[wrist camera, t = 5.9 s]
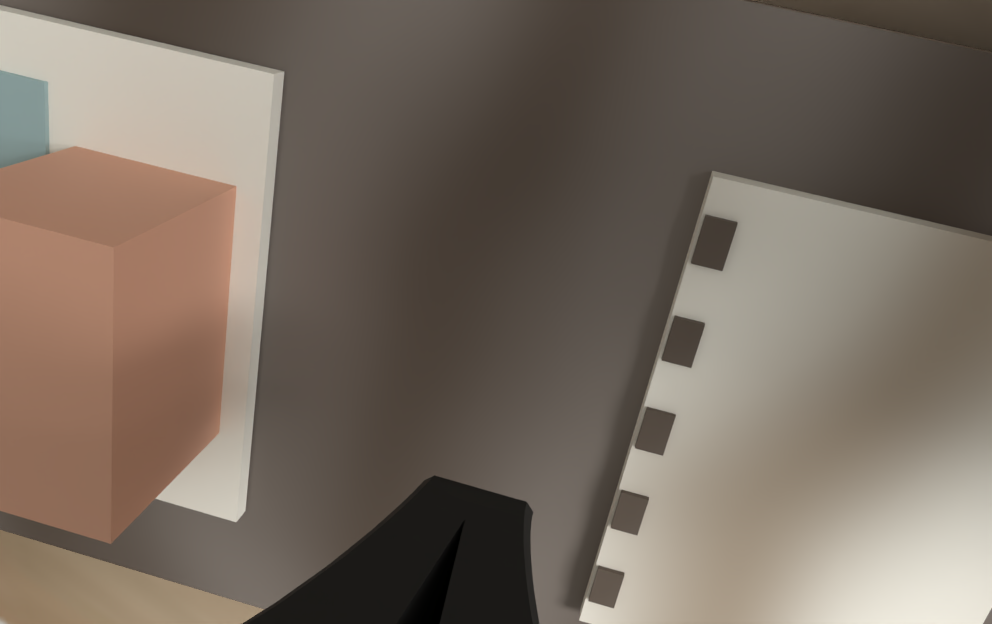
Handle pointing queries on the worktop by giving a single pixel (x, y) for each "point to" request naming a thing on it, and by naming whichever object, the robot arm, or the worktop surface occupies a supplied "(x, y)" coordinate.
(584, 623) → the ticket board
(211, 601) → the worktop surface
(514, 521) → the robot arm
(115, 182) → the stub
